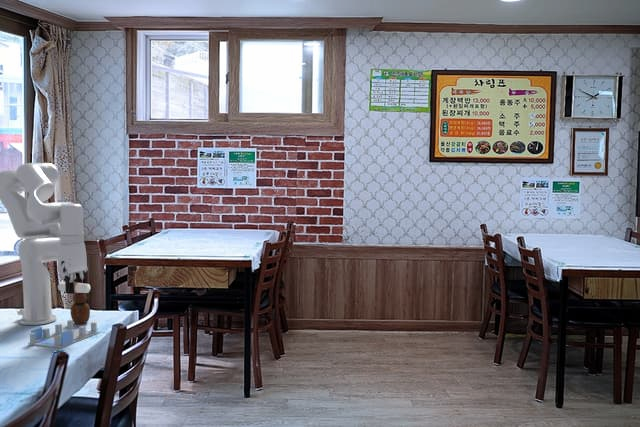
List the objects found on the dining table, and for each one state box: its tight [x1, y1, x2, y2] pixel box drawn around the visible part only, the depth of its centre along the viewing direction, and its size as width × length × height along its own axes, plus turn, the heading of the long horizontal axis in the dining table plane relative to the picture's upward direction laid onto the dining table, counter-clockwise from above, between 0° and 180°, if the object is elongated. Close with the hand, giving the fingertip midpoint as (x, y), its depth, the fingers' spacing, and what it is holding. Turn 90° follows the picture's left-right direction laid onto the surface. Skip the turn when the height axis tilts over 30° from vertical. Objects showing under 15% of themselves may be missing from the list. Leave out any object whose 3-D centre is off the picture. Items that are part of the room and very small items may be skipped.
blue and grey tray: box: [28, 319, 100, 349], centre depth 221 cm, size 13×19×5 cm
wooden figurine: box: [70, 283, 91, 325], centre depth 242 cm, size 7×6×15 cm
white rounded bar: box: [57, 281, 91, 294], centre depth 225 cm, size 11×4×4 cm, turn 71°
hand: (74, 291), depth 226 cm, fingers closed on white rounded bar, 3 cm apart
